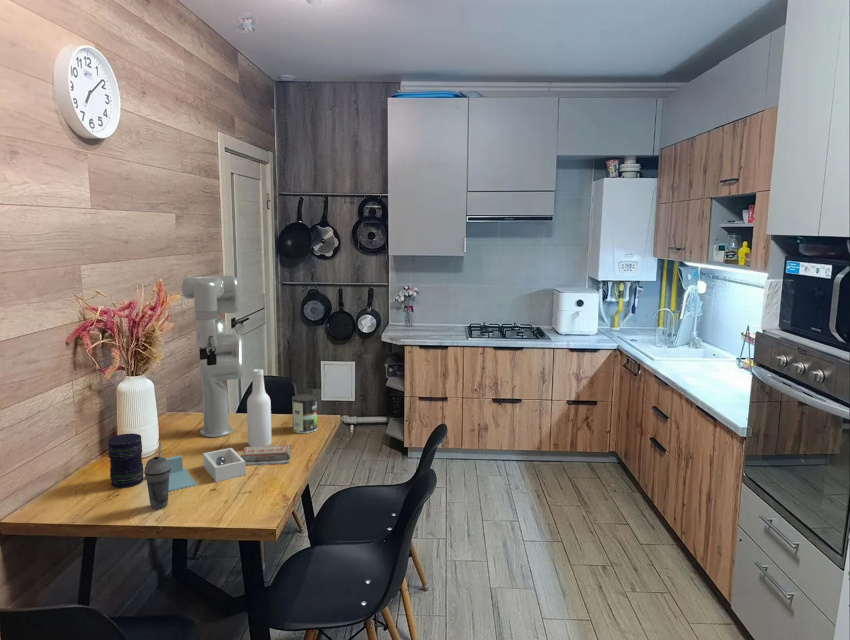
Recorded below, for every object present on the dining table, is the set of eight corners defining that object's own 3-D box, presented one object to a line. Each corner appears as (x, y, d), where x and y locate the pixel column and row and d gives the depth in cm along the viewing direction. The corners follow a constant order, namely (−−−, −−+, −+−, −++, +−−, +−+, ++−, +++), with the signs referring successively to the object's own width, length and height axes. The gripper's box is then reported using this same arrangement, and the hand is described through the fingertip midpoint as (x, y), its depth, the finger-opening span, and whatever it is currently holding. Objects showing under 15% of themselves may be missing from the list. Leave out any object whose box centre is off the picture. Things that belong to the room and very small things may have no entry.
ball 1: (215, 464, 205) (214, 456, 204) (223, 462, 207) (223, 454, 206) (217, 467, 202) (217, 459, 202) (226, 465, 204) (226, 457, 204)
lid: (152, 477, 196) (151, 461, 195) (185, 470, 202) (184, 454, 201) (163, 494, 184) (162, 477, 183) (197, 486, 190) (196, 469, 189)
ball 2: (214, 469, 201) (213, 461, 200) (222, 467, 203) (222, 459, 202) (216, 472, 198) (216, 463, 198) (225, 470, 200) (225, 462, 200)
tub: (203, 466, 205) (202, 453, 204) (232, 460, 210) (231, 447, 210) (215, 482, 193) (215, 467, 192) (245, 475, 198) (245, 461, 198)
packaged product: (291, 442, 218) (289, 452, 208) (291, 454, 219) (289, 465, 209) (241, 443, 215) (237, 454, 205) (241, 456, 216) (237, 467, 206)
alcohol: (270, 439, 232) (268, 366, 228) (272, 447, 224) (271, 371, 219) (247, 442, 229) (245, 368, 224) (249, 450, 221) (247, 373, 216)
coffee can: (319, 425, 250) (319, 393, 248) (314, 433, 240) (314, 400, 237) (295, 425, 250) (295, 393, 248) (289, 433, 240) (289, 400, 238)
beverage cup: (146, 503, 177) (142, 440, 174) (172, 499, 180) (169, 437, 177) (145, 514, 170) (141, 449, 167) (172, 509, 173) (169, 445, 170)
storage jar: (105, 482, 191) (102, 438, 189) (135, 473, 198) (133, 431, 196) (118, 491, 185) (115, 446, 182) (149, 481, 192) (147, 438, 190)
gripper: (189, 312, 211) (191, 358, 214) (201, 319, 197) (203, 368, 200) (210, 311, 216) (212, 356, 218) (223, 318, 202) (225, 366, 204)
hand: (208, 362), depth 209 cm, fingers open, 9 cm apart
